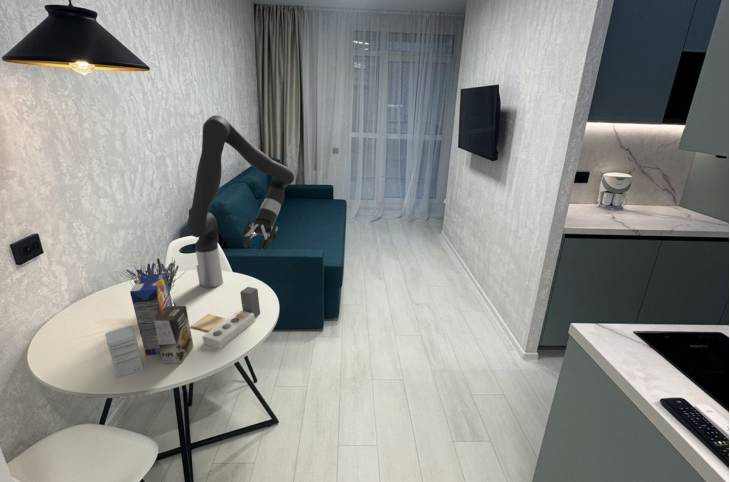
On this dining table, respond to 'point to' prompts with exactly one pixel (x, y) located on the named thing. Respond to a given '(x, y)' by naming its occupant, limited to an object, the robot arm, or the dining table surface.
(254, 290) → the block
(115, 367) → the supplement box
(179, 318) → the coffee box
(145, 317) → the cereal box
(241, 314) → the power strip
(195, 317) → the dining table surface
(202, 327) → the coaster
